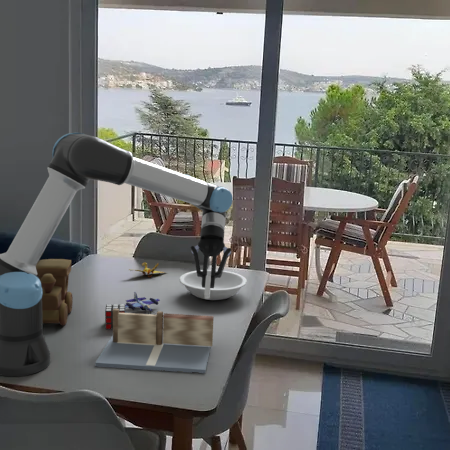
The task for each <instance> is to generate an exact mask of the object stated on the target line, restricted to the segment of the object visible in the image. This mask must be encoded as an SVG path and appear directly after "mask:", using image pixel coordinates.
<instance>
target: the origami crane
mask: <svg viewBox="0 0 450 450" xmlns="http://www.w3.org/2000/svg"><path fill="white" fill-rule="evenodd" d="M159 265H160V264H159V262H157V263H156V264H155V265H154V266H153V267H152V268H150V267H149V268H148V263H147V262H143V263H141V266H142V267H144V269H143V270H141V269H134V271H136V272H141V273H142V275H143V276H146V275H147V278H151V277H152V276H153V274H157V273H158V274H159V273H160V274H162V273H164V274H166V272H164V271H158V270H157V267H159ZM128 271H130V272H132V271H133V269H131V268H129V269H128ZM150 274H151V275H150Z"/></svg>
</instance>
